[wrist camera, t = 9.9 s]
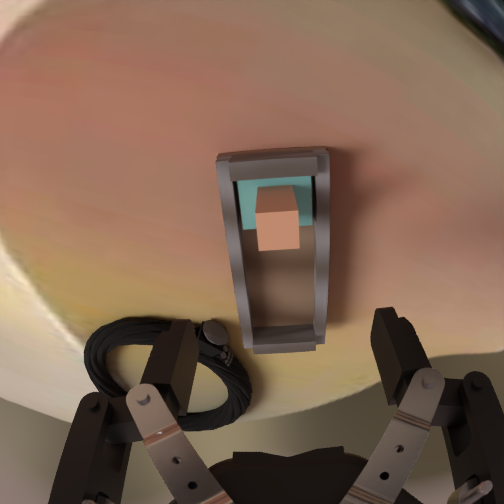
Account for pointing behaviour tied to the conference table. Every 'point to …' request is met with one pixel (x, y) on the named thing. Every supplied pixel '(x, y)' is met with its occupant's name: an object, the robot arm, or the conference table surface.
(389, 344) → the robot arm
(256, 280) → the board
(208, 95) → the conference table surface
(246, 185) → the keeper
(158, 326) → the cable lock
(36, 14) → the conference table surface
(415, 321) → the conference table surface
